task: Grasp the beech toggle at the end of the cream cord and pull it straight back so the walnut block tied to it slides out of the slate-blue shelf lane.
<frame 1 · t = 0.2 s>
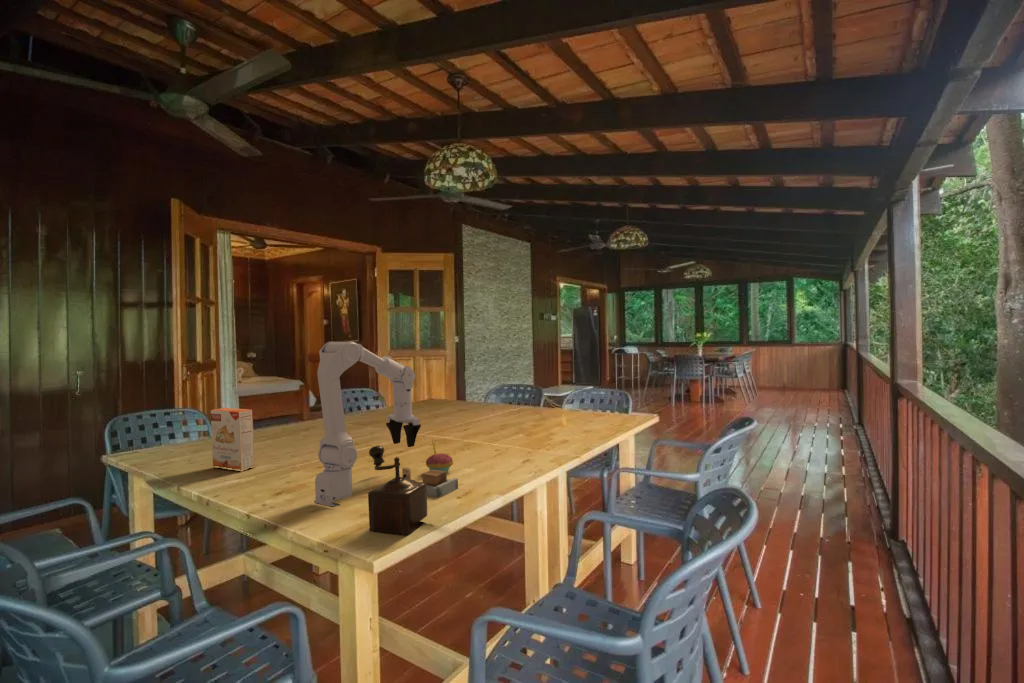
hand: (403, 444, 161), 10 cm above the table, tool pointing down, fingers open, 7 cm apart
cupcake: (439, 476, 159), on the table
cracker box: (233, 469, 174), on the table
manual coffee grinder: (391, 524, 120), on the table
lane shelf: (424, 492, 143), on the table
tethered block: (422, 479, 143), point 4 cm above the table, slide at 0.0 cm
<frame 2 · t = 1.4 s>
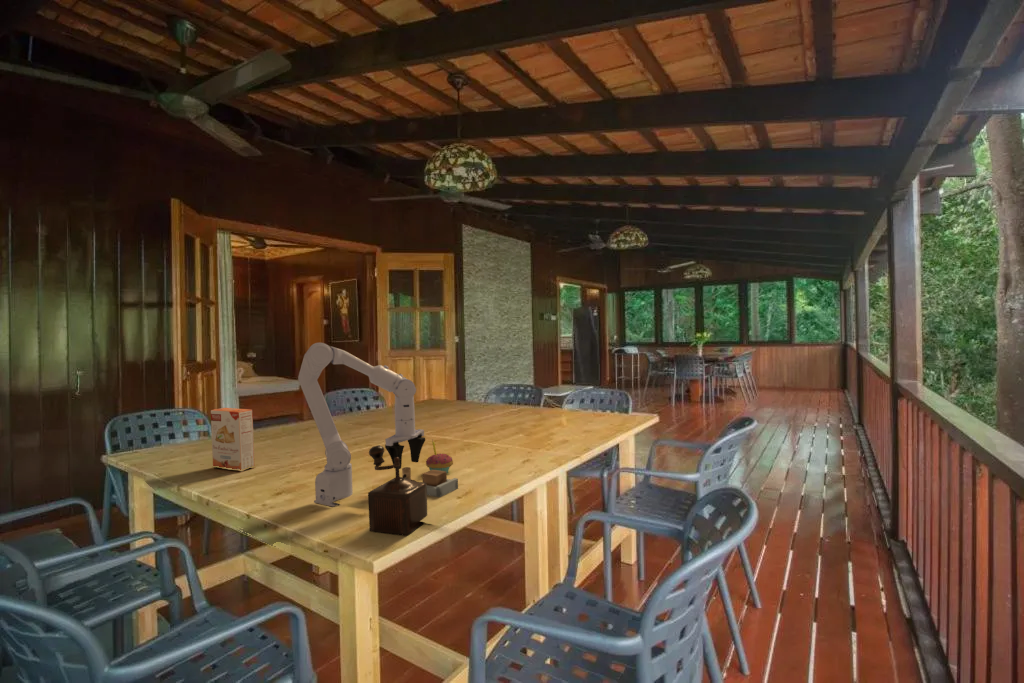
hand: (406, 465, 146), 7 cm above the table, tool pointing down, fingers open, 7 cm apart
nothing on the table moved.
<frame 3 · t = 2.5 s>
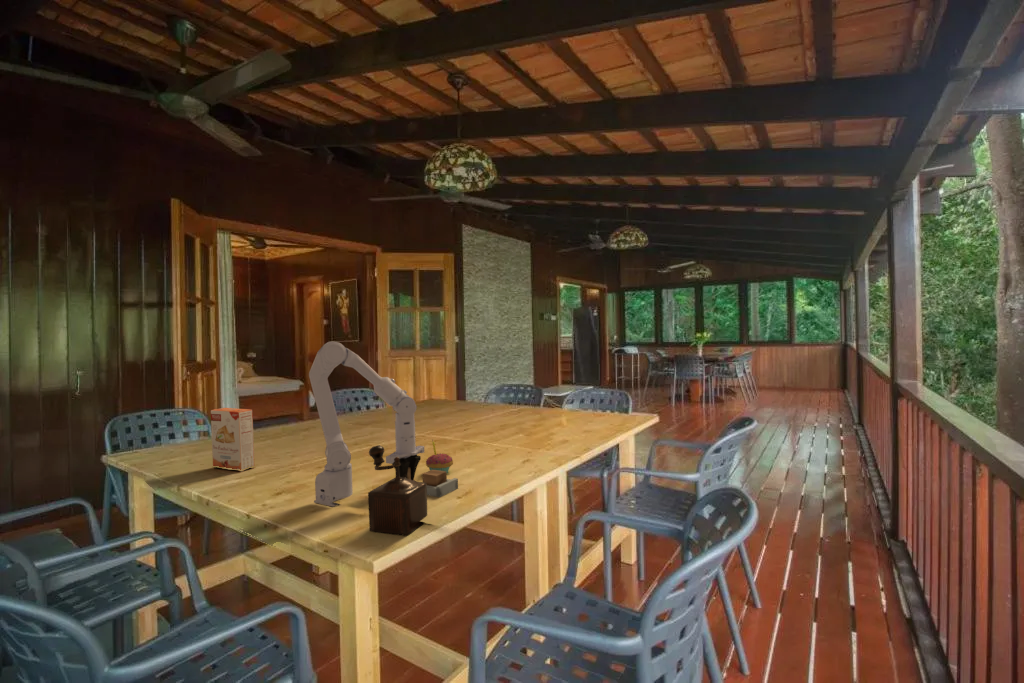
hand: (406, 482, 146), 2 cm above the table, tool pointing down, fingers closed on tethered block, 2 cm apart
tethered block: (422, 479, 143), point 4 cm above the table, slide at 0.0 cm, touching gripper
everything else where it was.
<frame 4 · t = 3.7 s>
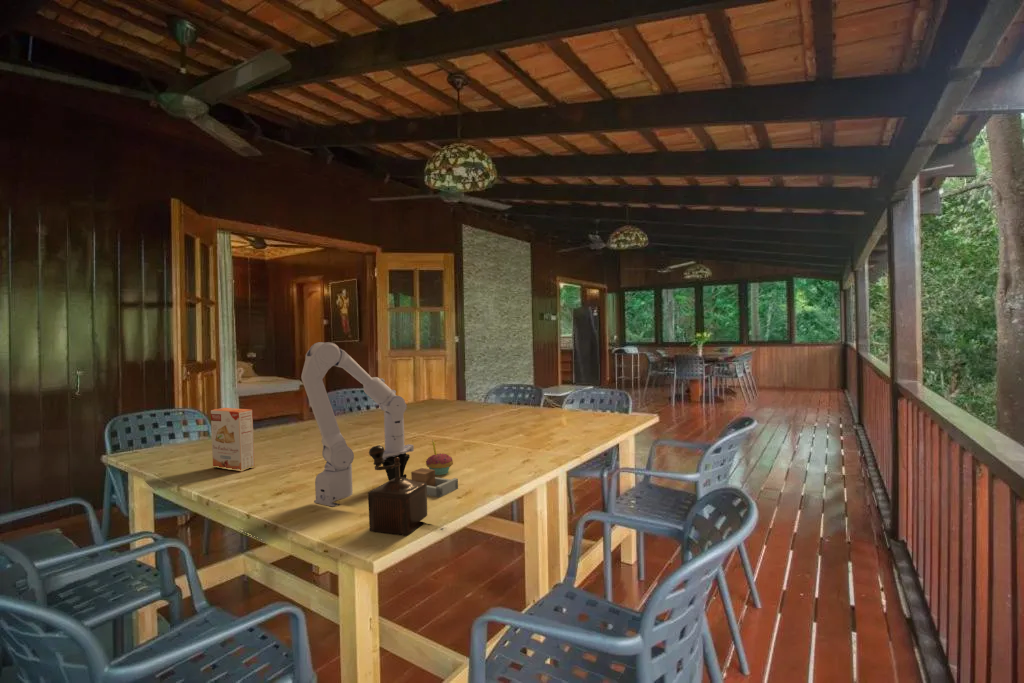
hand: (395, 480, 149), 2 cm above the table, tool pointing down, fingers closed on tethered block, 2 cm apart
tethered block: (411, 477, 146), point 4 cm above the table, slide at 4.1 cm, touching gripper
everything else where it was.
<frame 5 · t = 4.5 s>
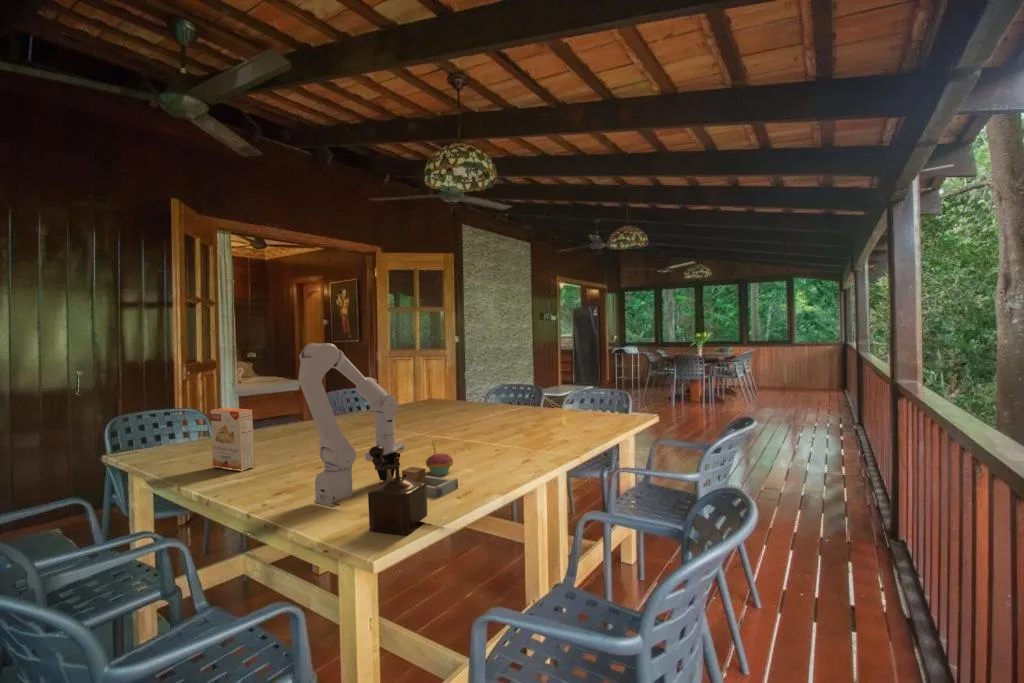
hand: (386, 478, 150), 2 cm above the table, tool pointing down, fingers closed on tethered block, 2 cm apart
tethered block: (401, 476, 147), point 4 cm above the table, slide at 7.7 cm, touching gripper
everything else where it was.
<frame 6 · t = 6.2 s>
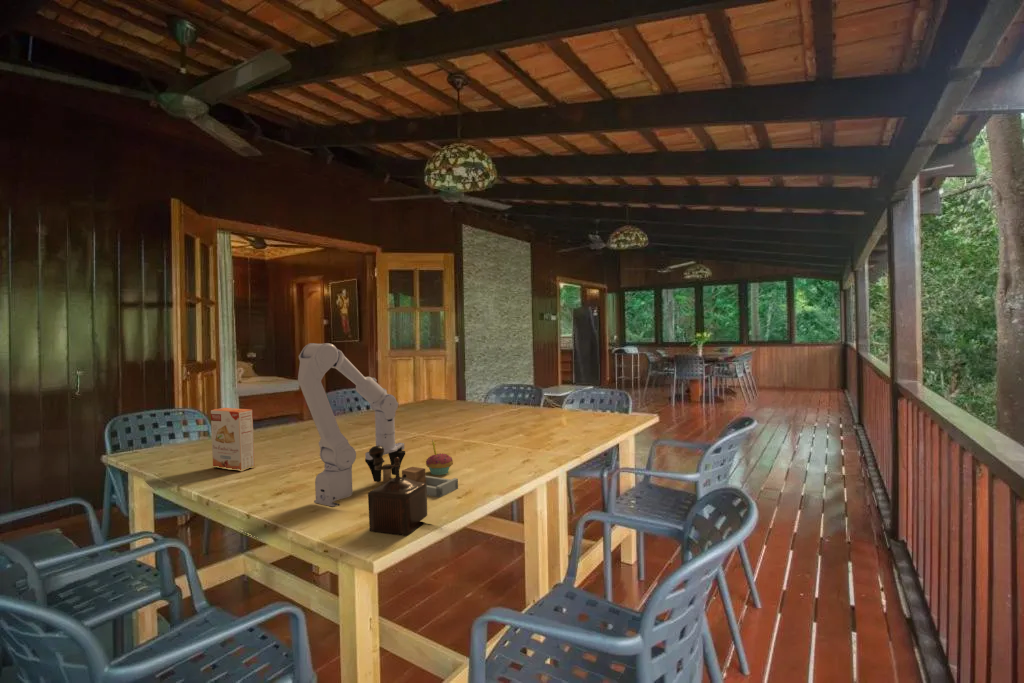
hand: (386, 478, 150), 2 cm above the table, tool pointing down, fingers open, 7 cm apart
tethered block: (401, 476, 147), point 4 cm above the table, slide at 7.7 cm
everything else where it was.
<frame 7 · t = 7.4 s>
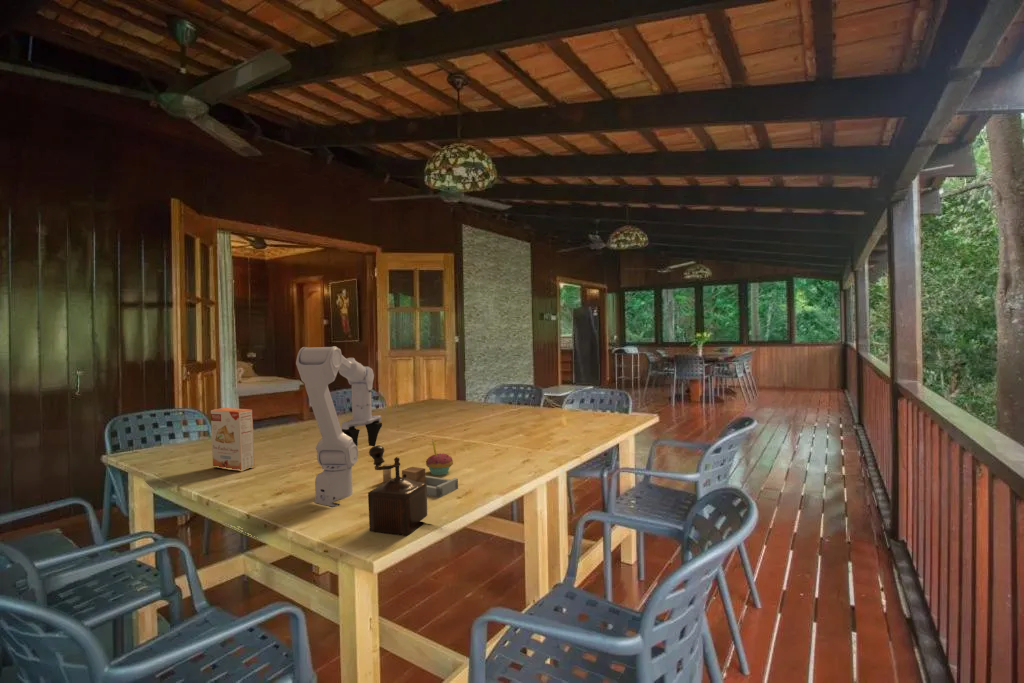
hand: (363, 448, 155), 10 cm above the table, tool pointing down, fingers open, 7 cm apart
nothing on the table moved.
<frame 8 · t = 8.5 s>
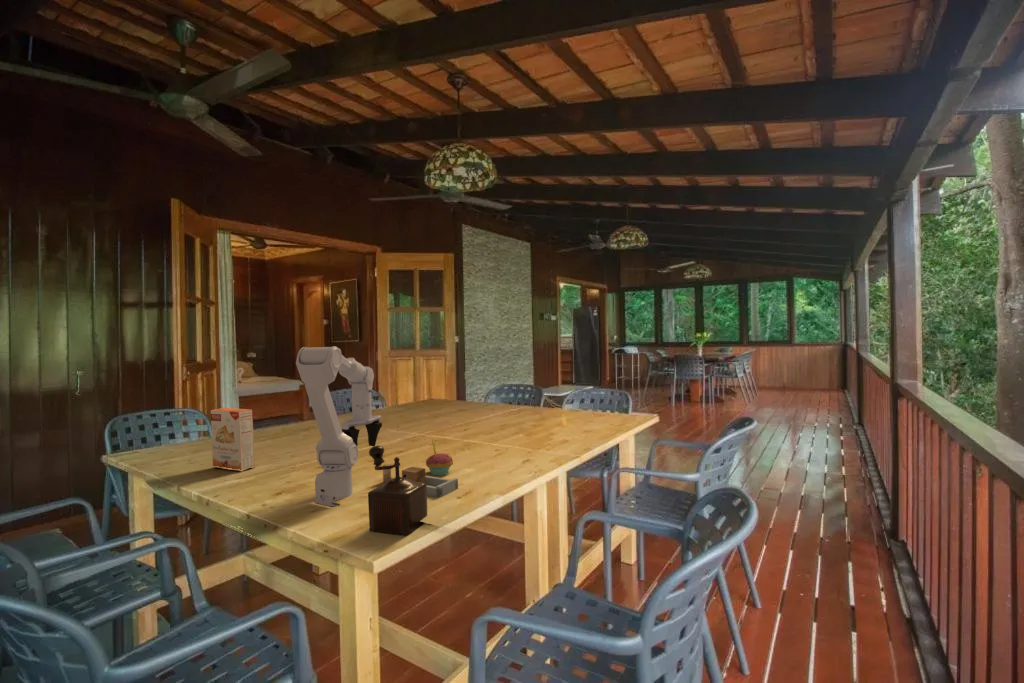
hand: (363, 448, 155), 10 cm above the table, tool pointing down, fingers open, 7 cm apart
nothing on the table moved.
at the end: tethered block slide at 7.7 cm; the gripper is holding nothing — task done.
